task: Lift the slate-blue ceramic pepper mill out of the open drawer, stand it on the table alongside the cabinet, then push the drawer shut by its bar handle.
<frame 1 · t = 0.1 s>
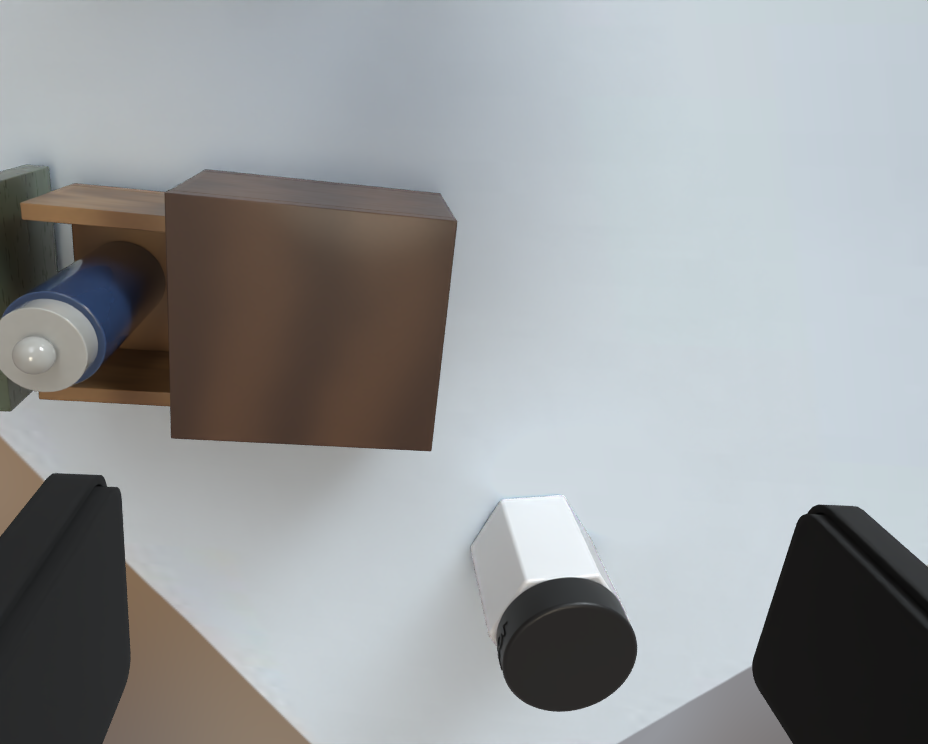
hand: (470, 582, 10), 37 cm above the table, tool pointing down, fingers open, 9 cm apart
drawer: (89, 289, 40), point 5 cm above the table, slide at 8.0 cm, touching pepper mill
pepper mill: (125, 279, 42), point 2 cm above the table, touching drawer
cabinet: (320, 285, 46), on the table
jar: (529, 540, 55), on the table
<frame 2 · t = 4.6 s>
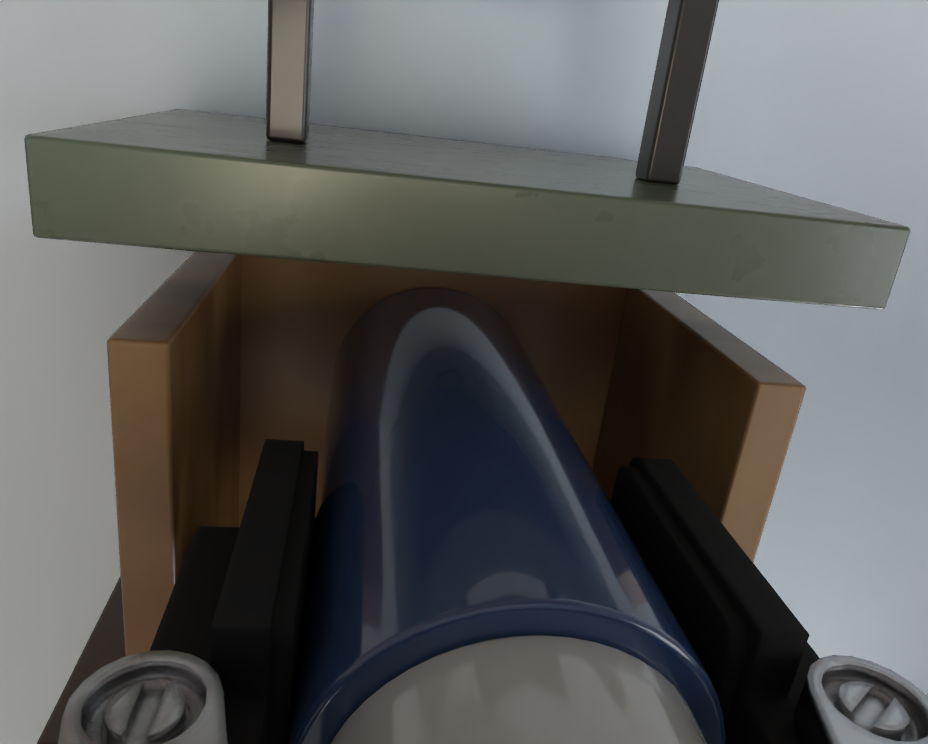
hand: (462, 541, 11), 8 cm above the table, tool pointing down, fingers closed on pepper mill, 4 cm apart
drawer: (446, 377, 14), point 5 cm above the table, slide at 8.0 cm, touching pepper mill
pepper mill: (430, 380, 17), point 2 cm above the table, touching drawer, gripper
cabinet: (390, 682, 23), on the table
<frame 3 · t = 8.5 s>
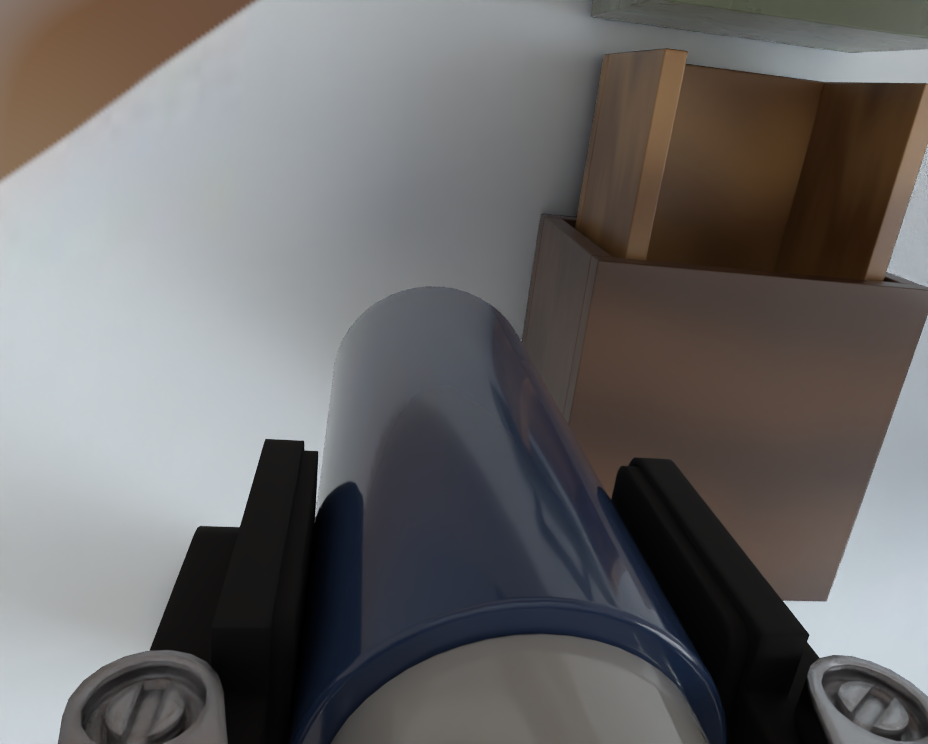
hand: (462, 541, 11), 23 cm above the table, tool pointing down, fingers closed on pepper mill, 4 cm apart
drawer: (748, 114, 28), point 5 cm above the table, slide at 8.0 cm
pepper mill: (431, 379, 17), point 17 cm above the table, touching gripper
cabinet: (644, 365, 36), on the table
when the fingers open (6 cm above the table, at t = 12.6 s): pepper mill stays where it is, on the table.
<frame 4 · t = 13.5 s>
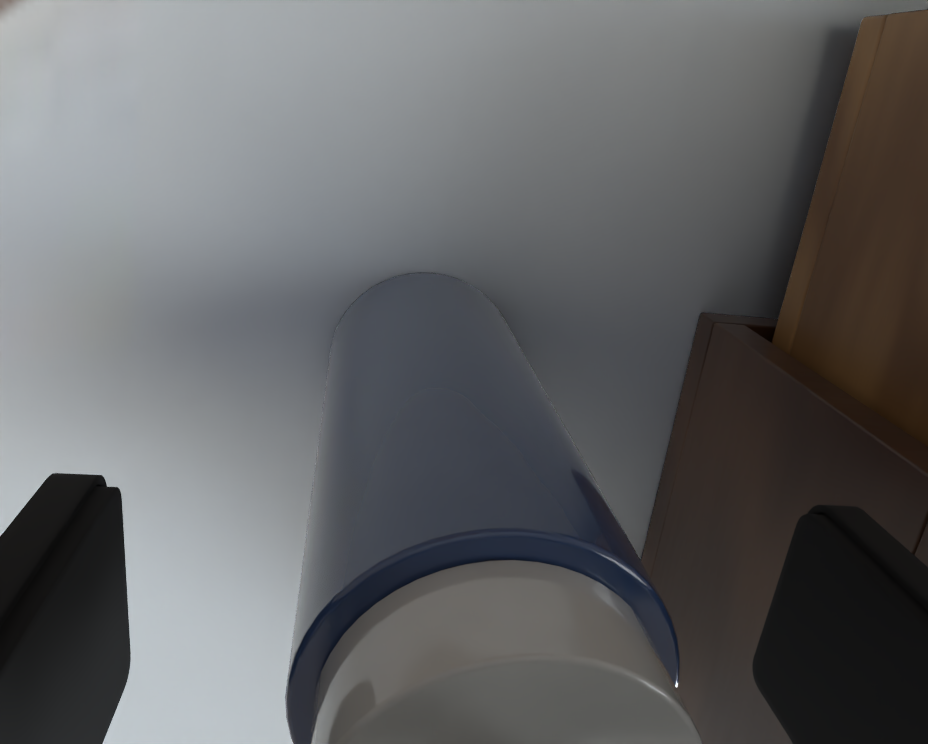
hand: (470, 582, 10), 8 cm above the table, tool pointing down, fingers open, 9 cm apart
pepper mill: (422, 361, 18), on the table
cabinet: (848, 551, 22), on the table
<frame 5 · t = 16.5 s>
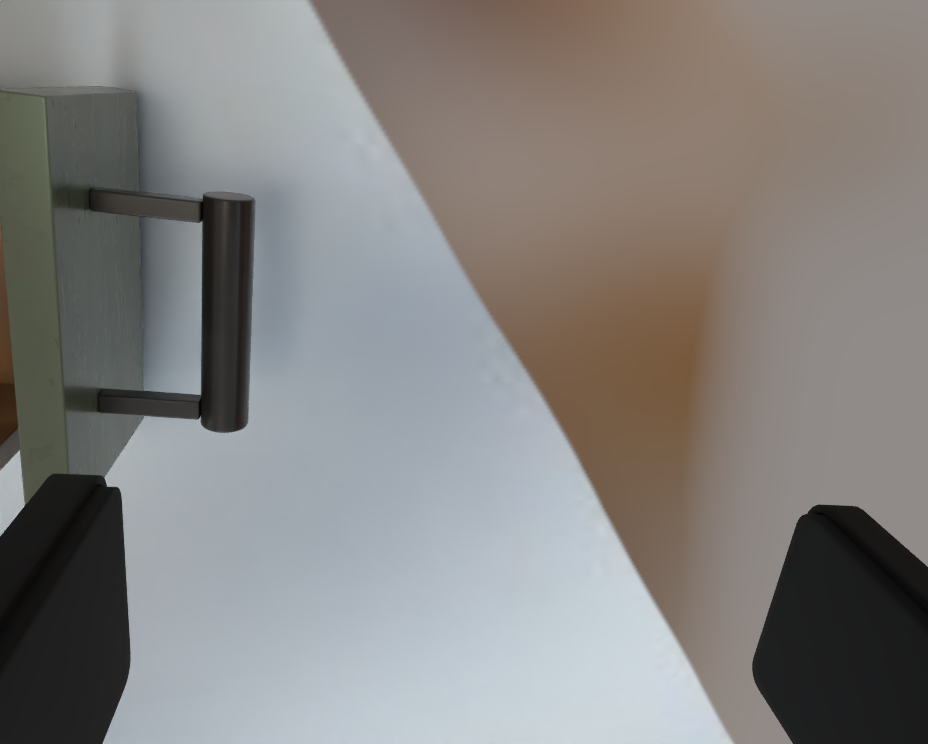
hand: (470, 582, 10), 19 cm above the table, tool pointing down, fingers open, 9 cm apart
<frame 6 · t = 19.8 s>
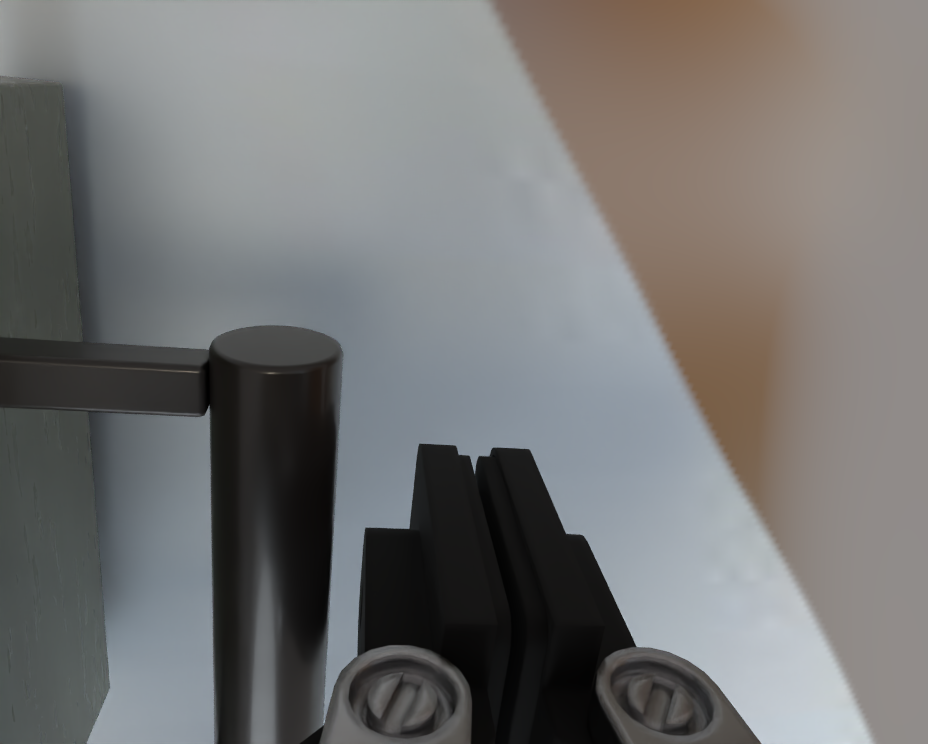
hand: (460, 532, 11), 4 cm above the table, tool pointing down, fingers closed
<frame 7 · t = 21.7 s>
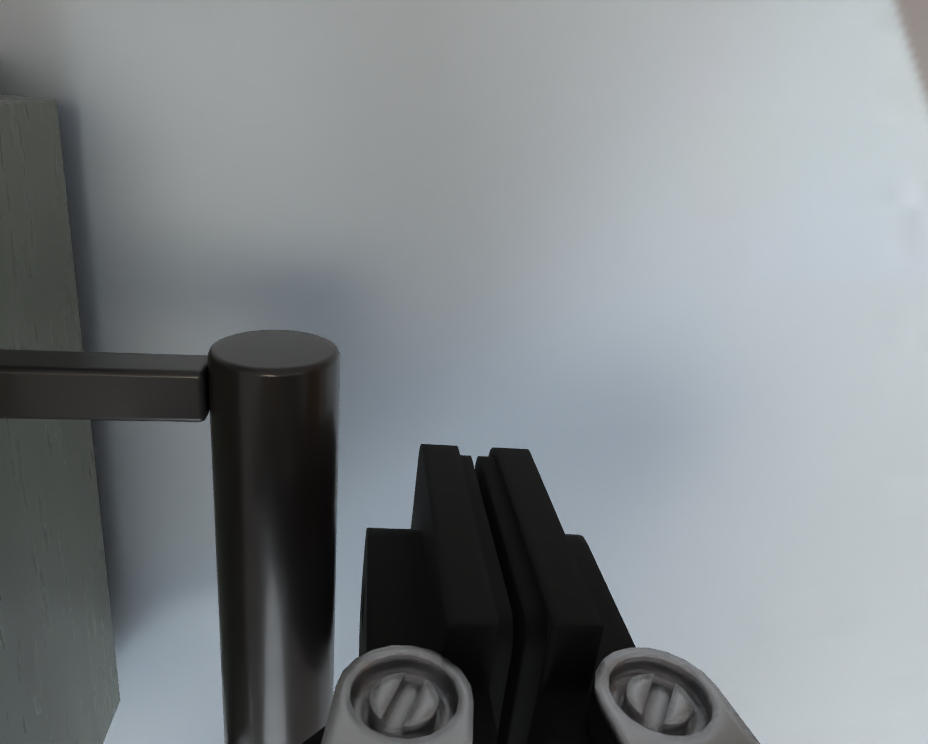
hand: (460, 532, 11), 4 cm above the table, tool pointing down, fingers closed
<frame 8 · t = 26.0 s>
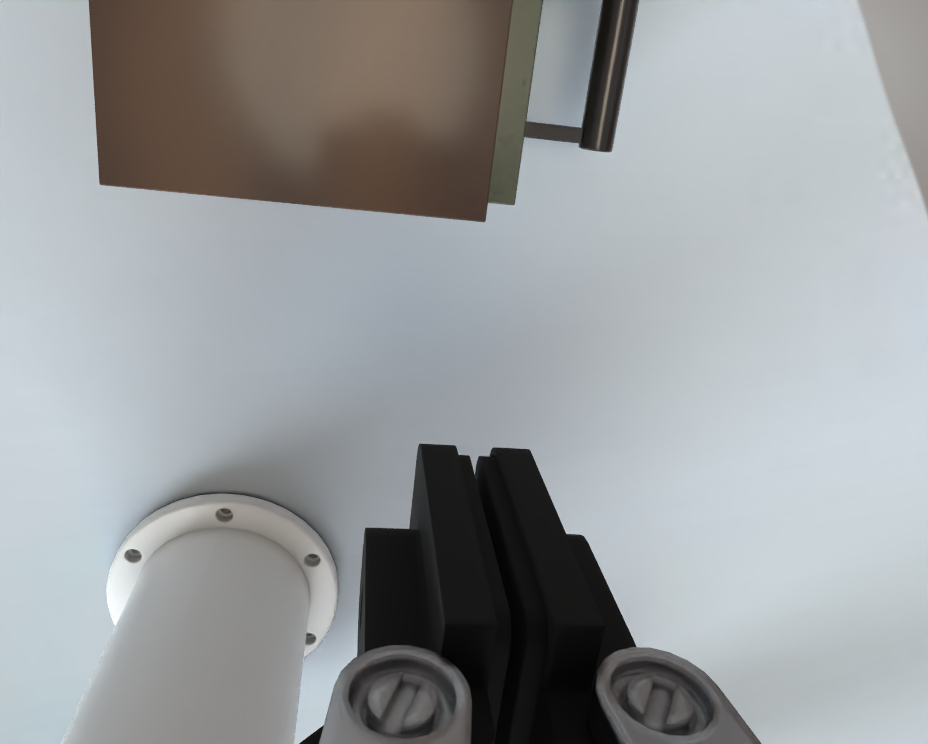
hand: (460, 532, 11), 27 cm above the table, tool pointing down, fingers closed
drawer: (416, 34, 29), point 5 cm above the table, slide at 0.0 cm, touching cabinet
cabinet: (322, 28, 33), on the table
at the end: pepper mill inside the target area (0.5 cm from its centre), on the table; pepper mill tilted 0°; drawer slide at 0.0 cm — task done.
